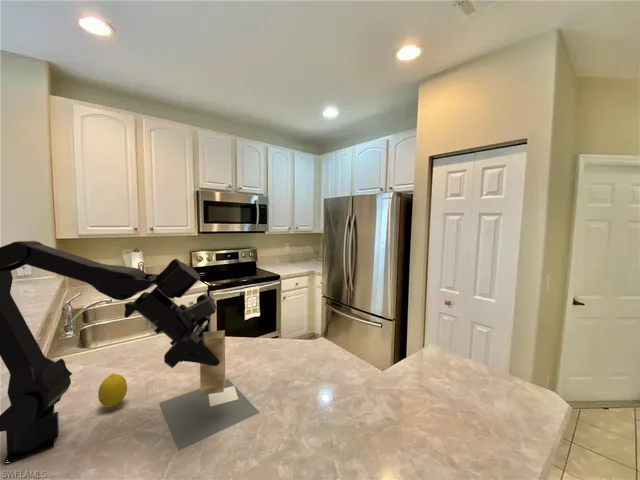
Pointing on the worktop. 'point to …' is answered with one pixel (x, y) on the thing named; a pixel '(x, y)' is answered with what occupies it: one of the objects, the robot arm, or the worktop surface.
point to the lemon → (112, 390)
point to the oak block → (213, 375)
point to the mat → (205, 413)
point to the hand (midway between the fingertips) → (219, 359)
